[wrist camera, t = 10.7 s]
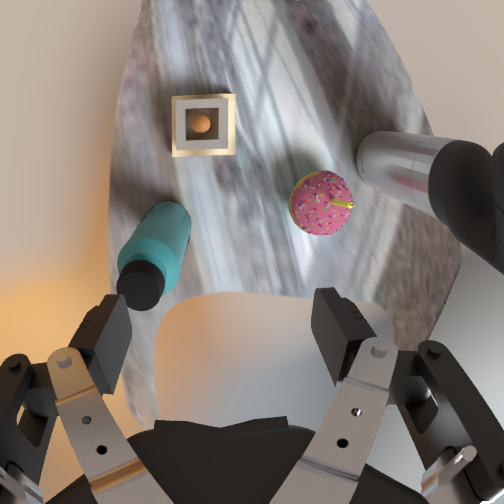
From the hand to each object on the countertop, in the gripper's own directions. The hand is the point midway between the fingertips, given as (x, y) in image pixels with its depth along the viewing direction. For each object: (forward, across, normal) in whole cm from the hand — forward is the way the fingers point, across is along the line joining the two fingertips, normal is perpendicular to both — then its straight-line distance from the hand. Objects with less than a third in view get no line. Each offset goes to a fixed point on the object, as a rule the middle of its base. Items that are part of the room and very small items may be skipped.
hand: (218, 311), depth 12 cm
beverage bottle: (+30, +7, +5) cm, 31 cm away
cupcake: (+30, -13, +2) cm, 33 cm away
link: (+28, +2, -8) cm, 29 cm away
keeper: (+30, +2, -8) cm, 31 cm away
